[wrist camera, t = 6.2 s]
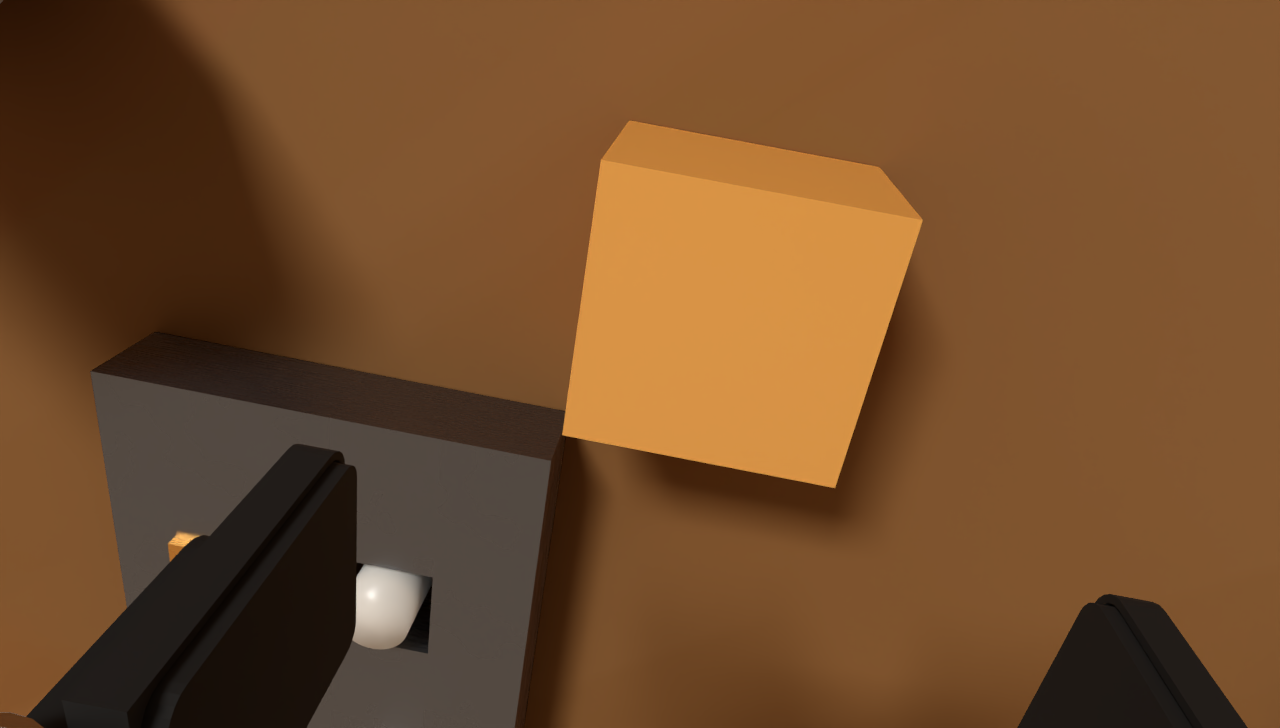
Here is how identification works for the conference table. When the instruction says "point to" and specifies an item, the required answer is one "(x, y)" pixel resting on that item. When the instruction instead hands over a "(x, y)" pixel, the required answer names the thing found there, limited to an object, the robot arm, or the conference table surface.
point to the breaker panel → (386, 507)
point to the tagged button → (387, 605)
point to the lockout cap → (734, 301)
